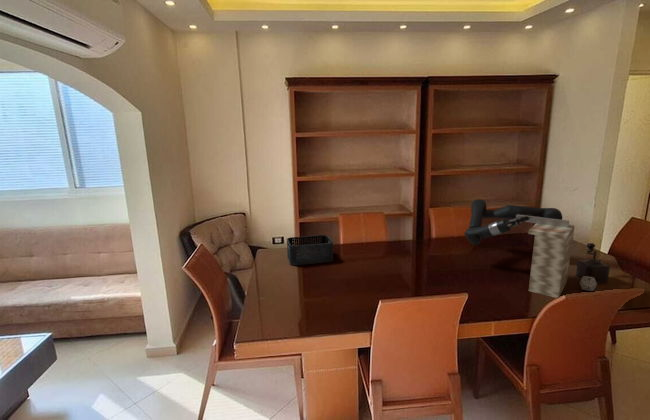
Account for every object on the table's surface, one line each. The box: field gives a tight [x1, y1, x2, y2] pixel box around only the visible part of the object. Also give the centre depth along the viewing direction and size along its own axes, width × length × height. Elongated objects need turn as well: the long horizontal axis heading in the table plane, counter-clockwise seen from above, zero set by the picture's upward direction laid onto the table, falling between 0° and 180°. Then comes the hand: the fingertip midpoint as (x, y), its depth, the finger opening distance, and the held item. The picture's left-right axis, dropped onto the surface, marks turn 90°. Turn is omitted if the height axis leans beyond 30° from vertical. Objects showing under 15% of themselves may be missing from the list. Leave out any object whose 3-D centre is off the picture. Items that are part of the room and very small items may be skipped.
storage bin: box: [286, 234, 334, 266], centre depth 230 cm, size 29×19×13 cm
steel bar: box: [516, 214, 570, 228], centre depth 185 cm, size 24×3×3 cm, turn 48°
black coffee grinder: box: [575, 242, 611, 284], centre depth 191 cm, size 16×11×18 cm
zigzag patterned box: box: [527, 223, 576, 299], centre depth 181 cm, size 16×24×32 cm, turn 138°
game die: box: [577, 274, 600, 292], centre depth 177 cm, size 9×8×10 cm
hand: (529, 216), depth 189 cm, fingers open, 5 cm apart
